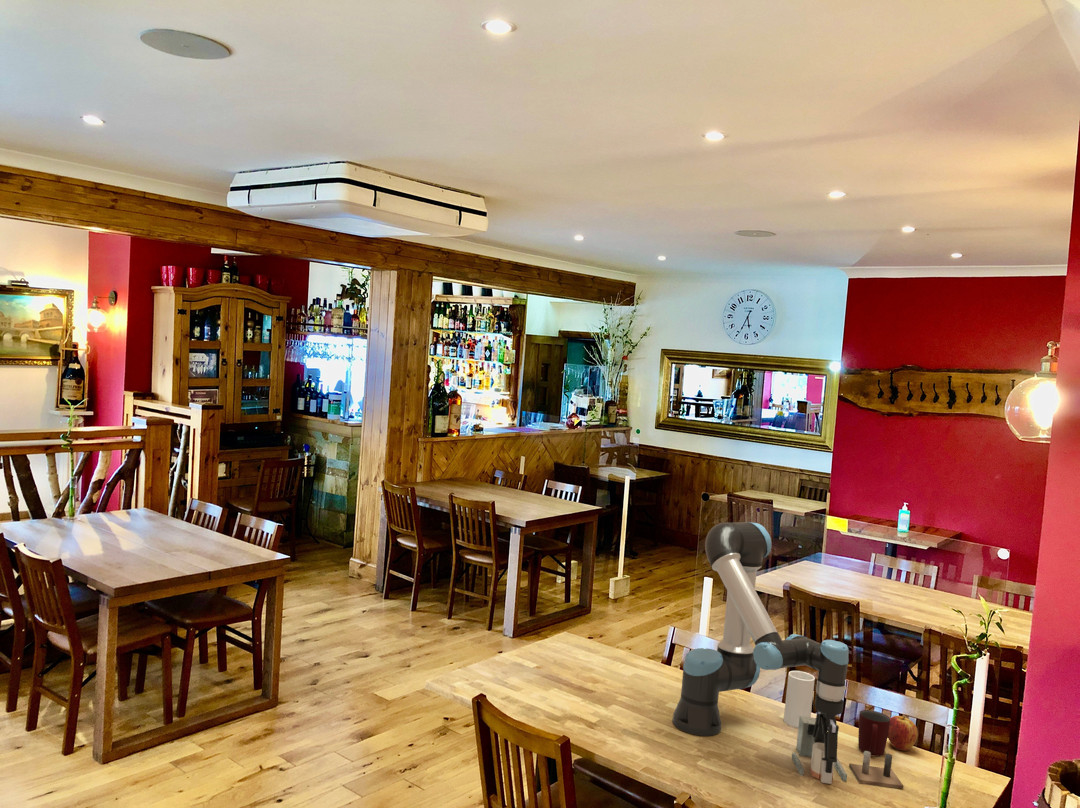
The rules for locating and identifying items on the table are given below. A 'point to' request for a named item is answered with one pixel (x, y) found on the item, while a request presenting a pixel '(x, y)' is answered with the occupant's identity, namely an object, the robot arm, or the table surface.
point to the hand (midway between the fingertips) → (821, 774)
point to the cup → (798, 697)
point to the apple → (902, 733)
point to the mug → (873, 732)
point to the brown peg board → (876, 773)
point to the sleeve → (817, 760)
